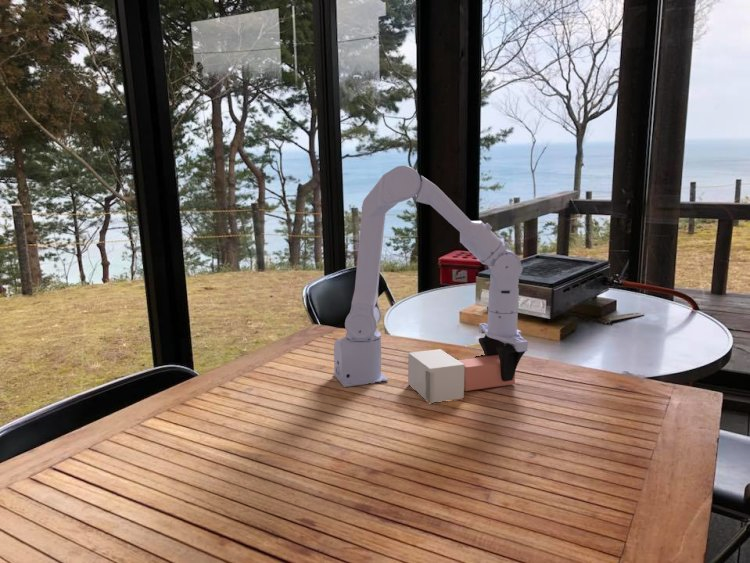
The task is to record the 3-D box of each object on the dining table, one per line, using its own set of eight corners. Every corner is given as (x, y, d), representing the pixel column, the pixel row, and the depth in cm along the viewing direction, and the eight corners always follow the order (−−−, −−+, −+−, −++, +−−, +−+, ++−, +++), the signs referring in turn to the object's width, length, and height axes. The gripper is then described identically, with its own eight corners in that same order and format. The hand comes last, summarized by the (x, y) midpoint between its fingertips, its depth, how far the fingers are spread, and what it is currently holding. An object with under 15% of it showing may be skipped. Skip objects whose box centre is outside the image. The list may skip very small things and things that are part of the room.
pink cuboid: (465, 391, 107) (466, 367, 106) (454, 383, 111) (455, 360, 110) (514, 383, 110) (515, 360, 109) (502, 376, 114) (503, 354, 114)
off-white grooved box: (429, 404, 101) (430, 368, 100) (408, 385, 110) (408, 352, 109) (463, 399, 103) (464, 364, 102) (439, 381, 113) (440, 349, 111)
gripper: (542, 317, 104) (539, 385, 106) (500, 301, 117) (498, 362, 119) (510, 320, 101) (507, 390, 104) (470, 303, 115) (469, 366, 117)
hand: (500, 376), depth 111 cm, fingers closed on pink cuboid, 4 cm apart
